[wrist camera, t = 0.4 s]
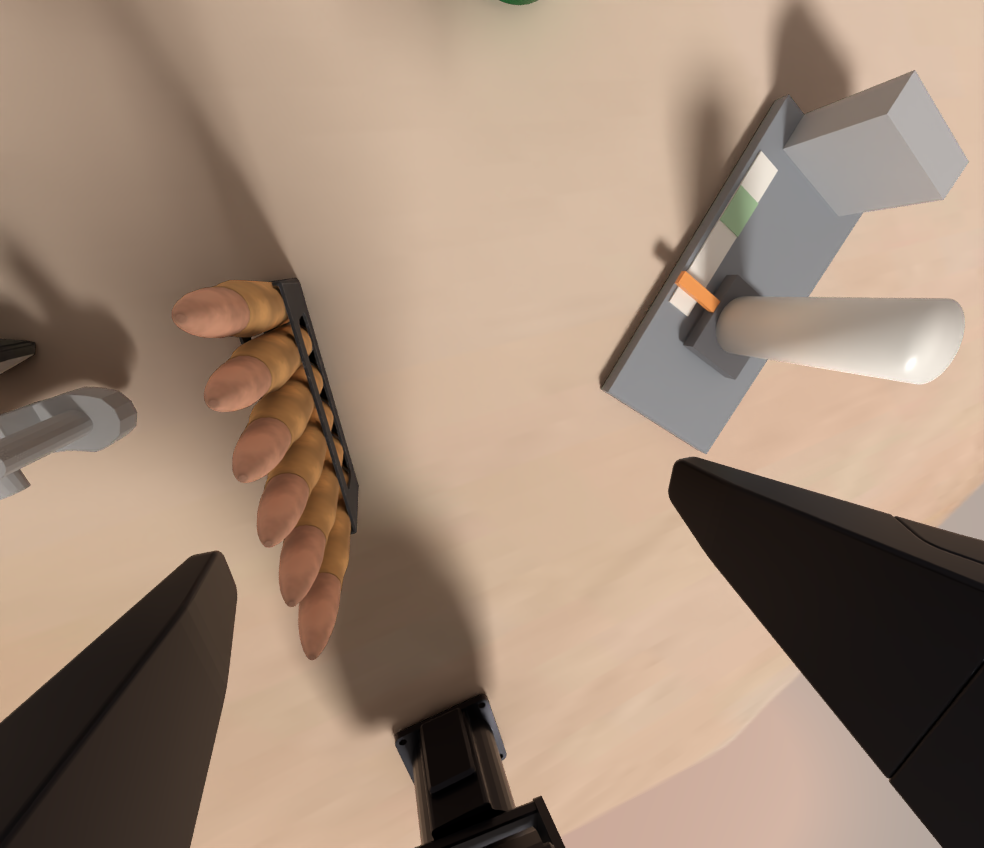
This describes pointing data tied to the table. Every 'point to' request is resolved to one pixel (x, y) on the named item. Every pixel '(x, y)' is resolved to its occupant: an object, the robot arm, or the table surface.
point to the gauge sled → (824, 331)
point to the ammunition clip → (284, 438)
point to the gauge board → (783, 235)
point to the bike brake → (56, 422)
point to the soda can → (518, 2)
